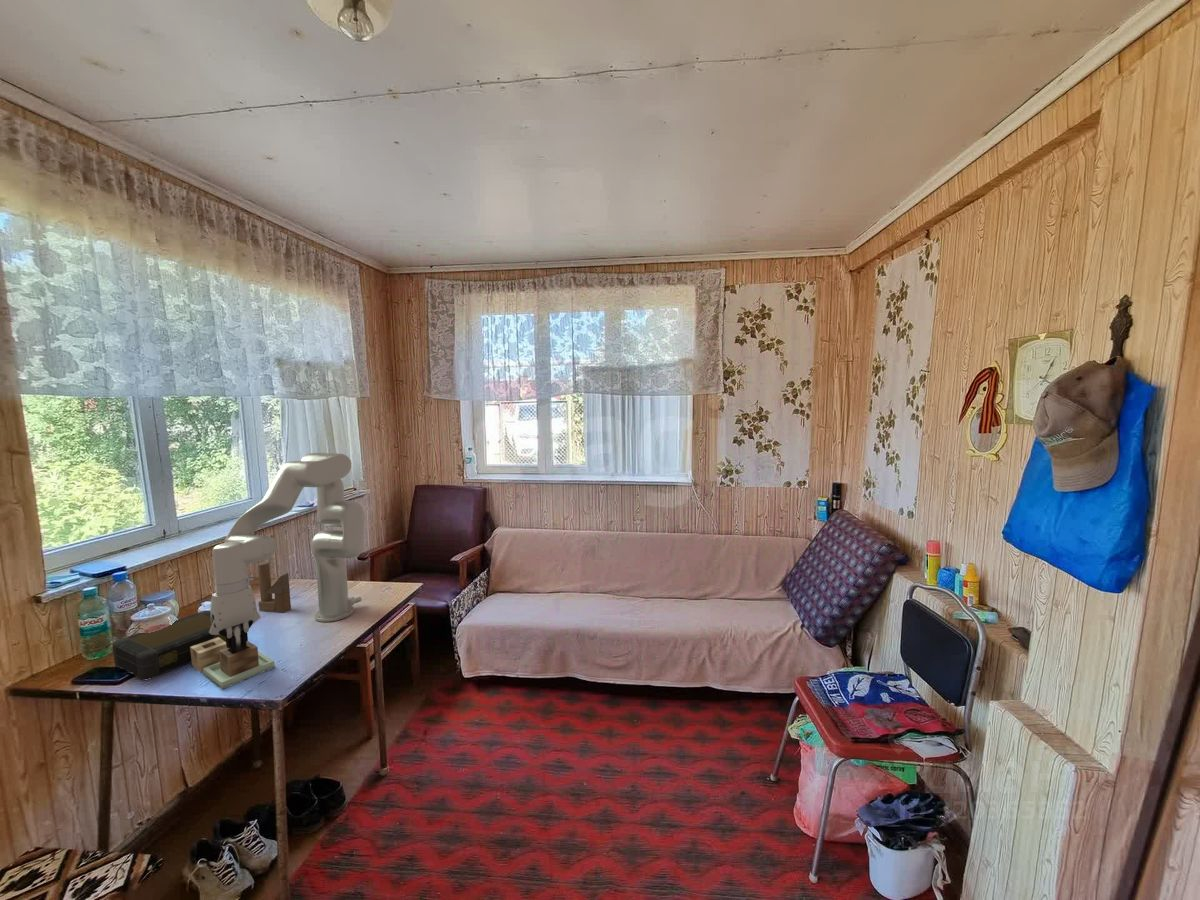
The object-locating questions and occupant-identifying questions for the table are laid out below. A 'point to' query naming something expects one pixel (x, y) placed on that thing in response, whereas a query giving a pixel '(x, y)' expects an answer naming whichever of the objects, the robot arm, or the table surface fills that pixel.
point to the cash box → (163, 646)
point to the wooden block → (273, 591)
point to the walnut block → (238, 659)
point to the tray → (224, 680)
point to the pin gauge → (237, 638)
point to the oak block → (206, 653)
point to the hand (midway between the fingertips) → (237, 646)
